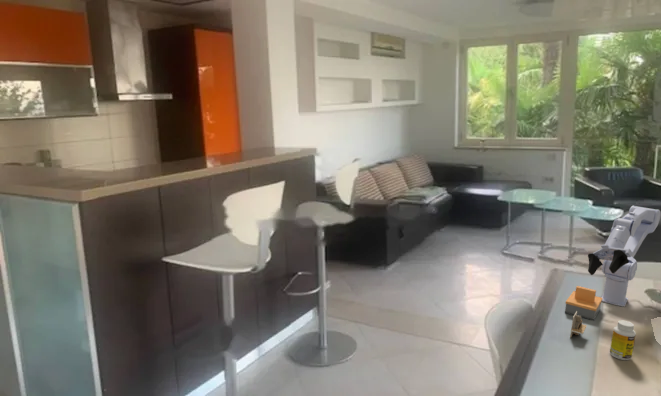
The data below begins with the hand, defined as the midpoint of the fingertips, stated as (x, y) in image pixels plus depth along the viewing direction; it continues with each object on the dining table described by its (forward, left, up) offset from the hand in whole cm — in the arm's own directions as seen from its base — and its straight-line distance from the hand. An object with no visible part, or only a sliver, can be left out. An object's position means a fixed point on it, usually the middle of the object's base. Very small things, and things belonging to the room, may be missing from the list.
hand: (600, 272), depth 166 cm
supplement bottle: (+24, +11, -16) cm, 31 cm away
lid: (-3, -4, -14) cm, 14 cm away
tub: (-3, -4, -16) cm, 17 cm away
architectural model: (+19, -2, -17) cm, 26 cm away
